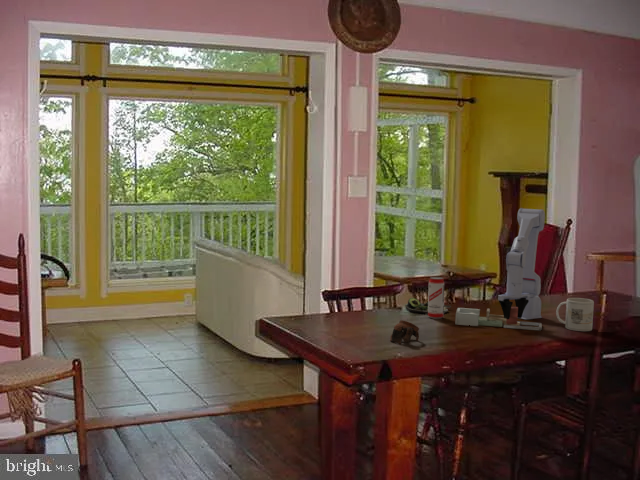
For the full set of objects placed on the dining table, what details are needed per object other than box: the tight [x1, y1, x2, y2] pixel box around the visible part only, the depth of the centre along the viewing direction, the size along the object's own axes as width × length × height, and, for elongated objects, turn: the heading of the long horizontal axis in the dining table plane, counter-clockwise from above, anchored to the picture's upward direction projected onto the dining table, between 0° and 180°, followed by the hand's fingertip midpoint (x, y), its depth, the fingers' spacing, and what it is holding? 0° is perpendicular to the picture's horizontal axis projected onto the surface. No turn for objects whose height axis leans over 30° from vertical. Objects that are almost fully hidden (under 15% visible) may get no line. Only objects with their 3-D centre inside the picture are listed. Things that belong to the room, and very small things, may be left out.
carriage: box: [485, 306, 521, 326], centre depth 295 cm, size 12×6×7 cm, turn 76°
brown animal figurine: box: [389, 319, 420, 345], centre depth 263 cm, size 12×10×8 cm
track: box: [478, 316, 543, 331], centre depth 295 cm, size 24×9×2 cm, turn 76°
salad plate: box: [405, 297, 452, 315], centre depth 322 cm, size 19×18×5 cm
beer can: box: [427, 276, 445, 320], centre depth 306 cm, size 6×6×16 cm
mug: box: [555, 297, 595, 332], centre depth 293 cm, size 10×12×11 cm
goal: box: [454, 307, 481, 327], centre depth 298 cm, size 8×11×4 cm
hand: (512, 318), depth 294 cm, fingers open, 6 cm apart
